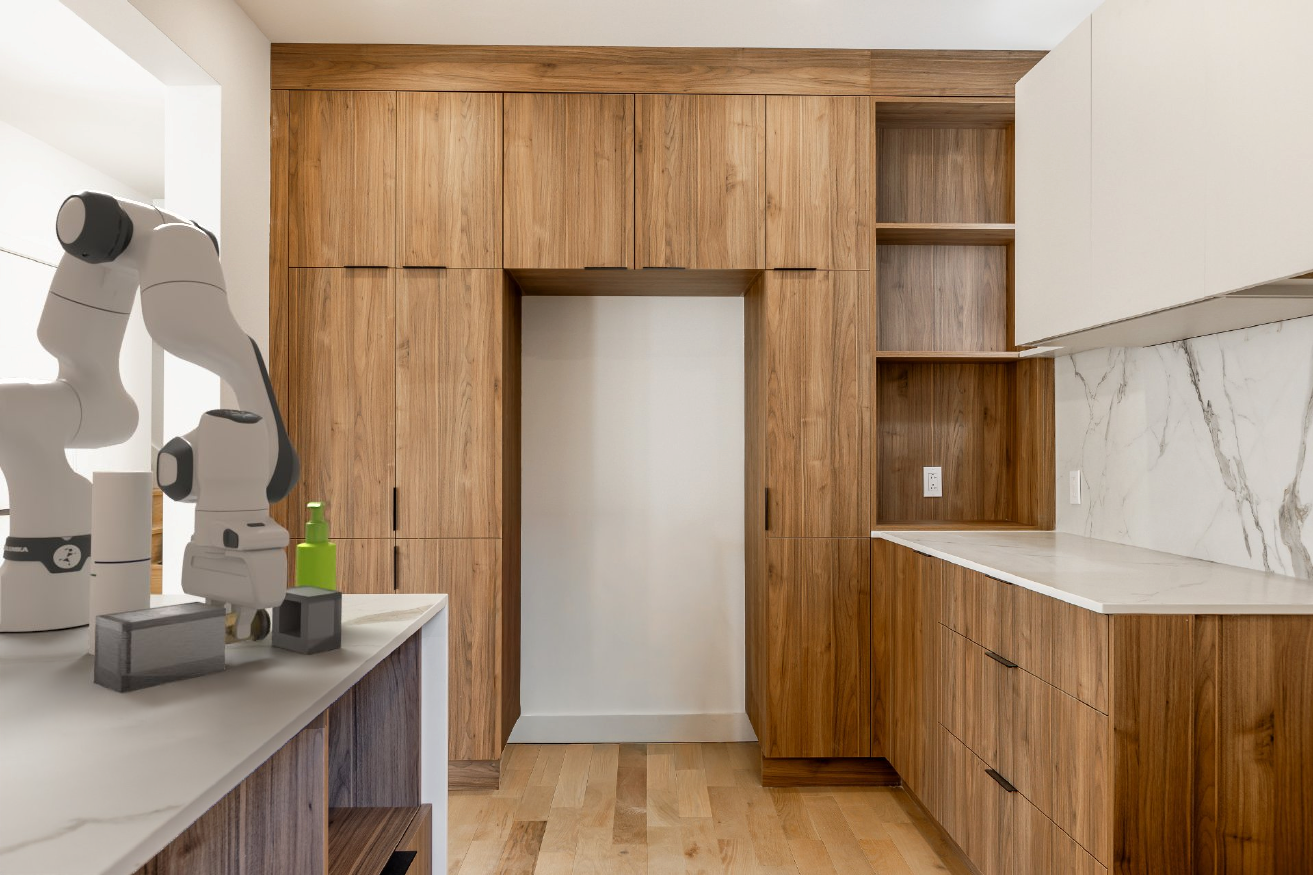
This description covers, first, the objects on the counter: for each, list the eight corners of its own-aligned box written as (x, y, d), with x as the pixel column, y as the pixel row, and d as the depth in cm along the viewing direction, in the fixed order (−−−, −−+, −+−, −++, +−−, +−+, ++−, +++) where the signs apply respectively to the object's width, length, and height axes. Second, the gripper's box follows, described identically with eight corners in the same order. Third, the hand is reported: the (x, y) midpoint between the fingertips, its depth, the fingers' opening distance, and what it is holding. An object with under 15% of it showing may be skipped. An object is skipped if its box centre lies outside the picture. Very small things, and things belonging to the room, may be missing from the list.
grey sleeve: (120, 692, 94) (122, 623, 95) (93, 682, 98) (95, 615, 99) (224, 670, 104) (225, 607, 104) (196, 661, 108) (197, 601, 109)
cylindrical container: (119, 657, 110) (123, 472, 111) (75, 653, 112) (79, 471, 112) (161, 645, 117) (165, 471, 118) (119, 642, 119) (123, 470, 119)
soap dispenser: (290, 632, 127) (293, 503, 127) (299, 622, 133) (301, 500, 134) (330, 630, 128) (333, 503, 128) (337, 621, 135) (339, 500, 135)
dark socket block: (307, 654, 113) (308, 596, 113) (271, 645, 118) (272, 589, 118) (340, 647, 117) (341, 591, 117) (304, 638, 122) (305, 585, 122)
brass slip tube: (143, 666, 98) (144, 628, 98) (126, 660, 100) (127, 623, 100) (271, 641, 111) (272, 607, 111) (253, 637, 113) (253, 604, 114)
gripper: (169, 527, 112) (167, 628, 112) (249, 538, 100) (247, 650, 100) (215, 524, 117) (213, 621, 117) (297, 534, 106) (295, 641, 105)
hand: (229, 635), depth 108 cm, fingers closed on brass slip tube, 4 cm apart
